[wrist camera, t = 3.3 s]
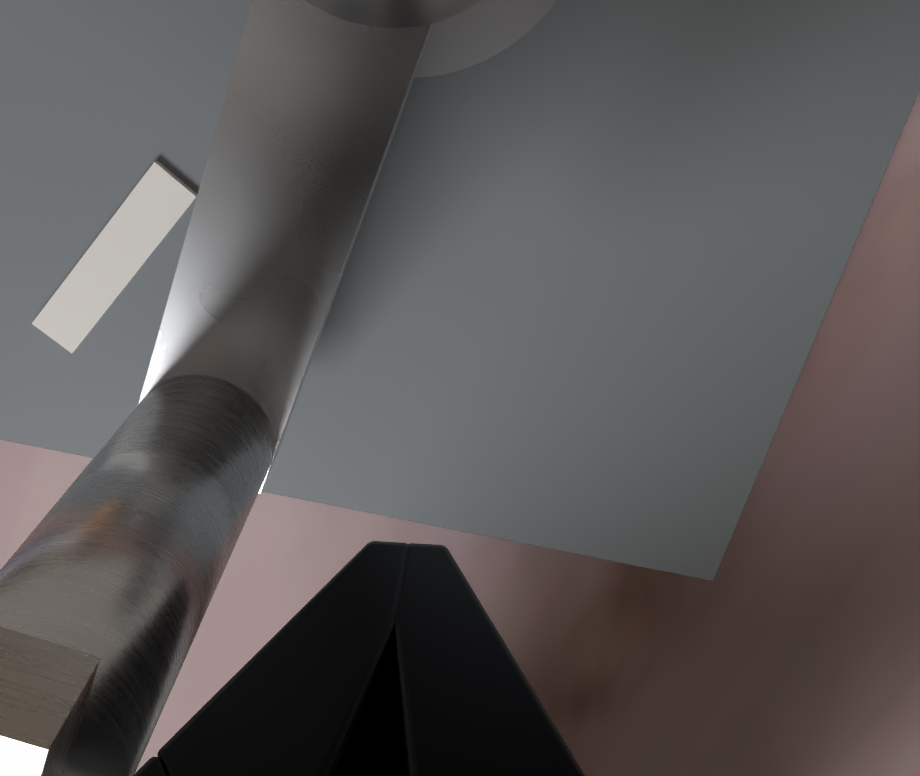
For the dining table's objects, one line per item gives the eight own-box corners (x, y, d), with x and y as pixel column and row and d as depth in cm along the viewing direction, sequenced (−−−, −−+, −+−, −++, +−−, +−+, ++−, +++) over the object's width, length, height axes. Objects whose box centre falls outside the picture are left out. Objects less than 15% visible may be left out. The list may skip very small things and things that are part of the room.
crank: (306, -385, 9) (-204, -1549, 2) (602, -238, 9) (916, -820, 3) (90, 443, 12) (-325, 921, 6) (305, 517, 13) (135, 1036, 6)
